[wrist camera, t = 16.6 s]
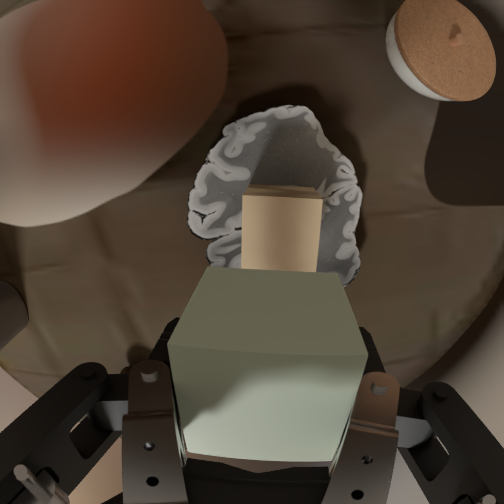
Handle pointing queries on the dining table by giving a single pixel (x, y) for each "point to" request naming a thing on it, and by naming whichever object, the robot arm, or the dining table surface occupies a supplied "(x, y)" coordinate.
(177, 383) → the sage block
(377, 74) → the dining table surface
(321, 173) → the brain slice
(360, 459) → the robot arm
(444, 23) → the lidded jar
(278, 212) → the oak block
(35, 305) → the dining table surface
